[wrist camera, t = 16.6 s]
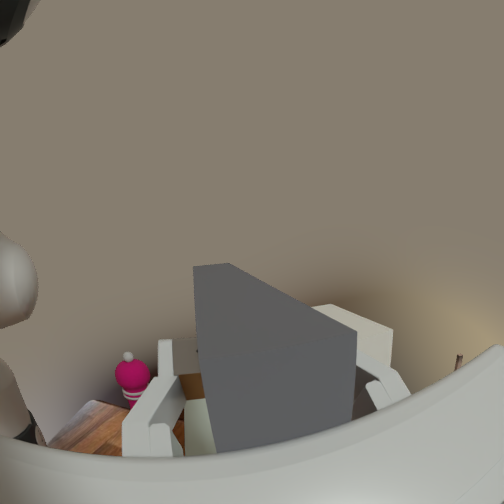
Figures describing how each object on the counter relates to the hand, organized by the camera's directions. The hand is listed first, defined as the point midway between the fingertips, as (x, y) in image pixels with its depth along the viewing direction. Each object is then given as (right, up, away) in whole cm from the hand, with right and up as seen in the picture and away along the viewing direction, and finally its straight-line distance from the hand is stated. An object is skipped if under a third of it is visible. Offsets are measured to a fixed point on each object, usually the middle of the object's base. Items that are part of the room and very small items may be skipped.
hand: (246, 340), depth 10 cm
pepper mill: (-18, -33, +30) cm, 48 cm away
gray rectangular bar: (-1, -2, +6) cm, 7 cm away
